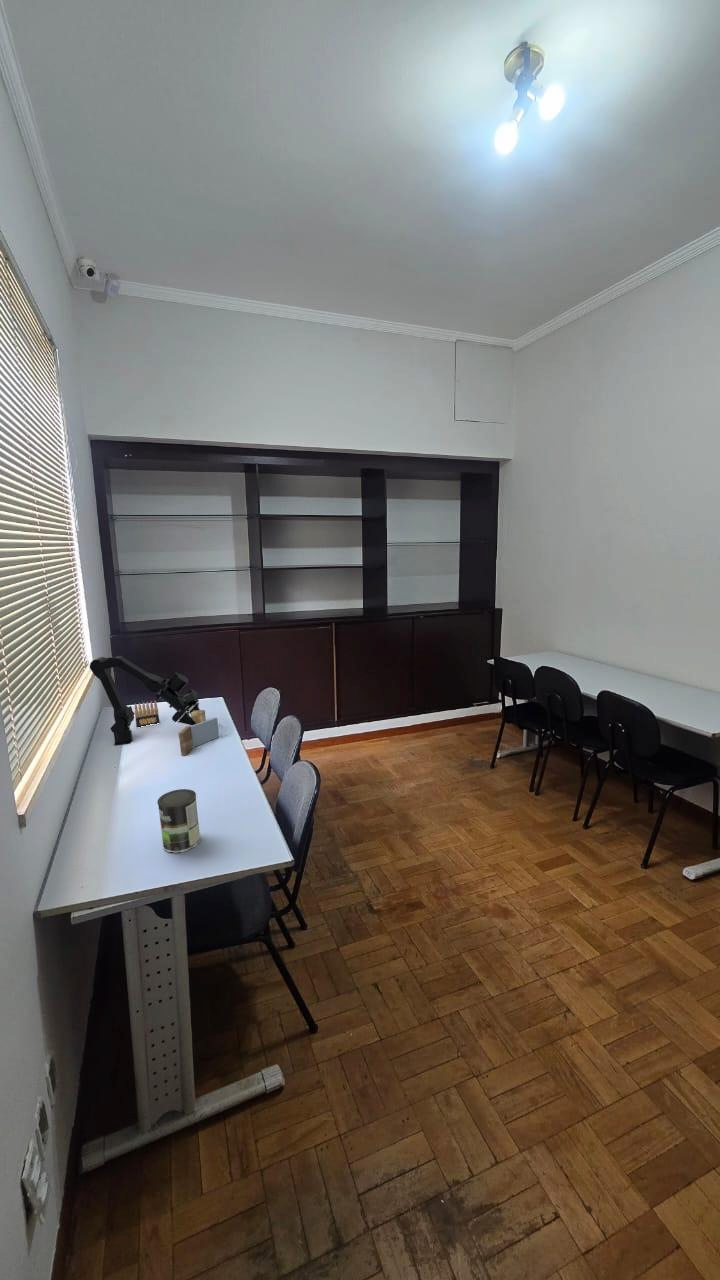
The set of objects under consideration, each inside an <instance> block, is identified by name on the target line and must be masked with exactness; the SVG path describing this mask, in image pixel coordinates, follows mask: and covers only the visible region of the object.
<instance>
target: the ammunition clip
mask: <svg viewBox="0 0 720 1280" xmlns="http://www.w3.org/2000/svg"><path fill="white" fill-rule="evenodd" d="M134 713H135V714H134V719H135V726H136V727H140V728H142V727H141V726H146V725H150V724H157V723H160V716H159V709H158V703H157V700H154V703H153V701H152V700H151V701H149V702H148V701H146V704H145V702H142V704H141V703H140V702H139V703H138V705H137V703H134ZM160 724H161V723H160ZM146 727H147V726H146Z"/></svg>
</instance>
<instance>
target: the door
mask: <svg viewBox="0 0 720 1280" xmlns="http://www.w3.org/2000/svg"><path fill="white" fill-rule="evenodd" d="M190 726H191V732H192V741H193V748H194V747H197V746H200V745H203V744H205V743H208V742H211V741H213V740H216V739H218V738H220V735H219V733H220V732H219V724H218V717H213V718H210V719H206V721H204V722H201V723H198V724H195V725H190Z"/></svg>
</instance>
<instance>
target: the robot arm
mask: <svg viewBox="0 0 720 1280" xmlns="http://www.w3.org/2000/svg"><path fill="white" fill-rule="evenodd" d="M112 668H119V669H120V670H122V671H123V672H125V673H126V674H128V675H130V676H132V677H133V678H134V679H136V680H138V681H139V682H140V683H142V685H143V686H144V688H146V690H147V691H149V692H150V693H152V694H154V693H155V695H156V697H155V699H156V700H155V701H158V700H160V699H162V700H163V701H165V702H166V703H167V704H169V706H168V707H169V708H170V709H171V708H173V709H174V710H175V711H176V712H174V714H173V715H172V716H171V720H172V722H174V723H177V724H179V723H180V724H184V725H187V726H192V725H195V724H197V723H196V722H195V721H194V720H193V719H192V718H191V712H193V711H194V710H201V709H200V707H199V705H200V702H199V701H200V700H199V699H198V698H199V697H198V692H197V691H196V690H194V689H192V688H191V689H190V690H188V692H187V694H186V695H183V694H178V693H177V692H181V691H182V690H183V689H184V687H186V685H187V684H188V683H189V679H188V677H186V676H185V675H183V674H181V673H178V671H177V672H176V671H175V673H174V674H173V675H172V677H171V678H163V677H161V676H159V675H156V674H153V673H149V672H148V671H145V670H144V669H142V668H141V667H140V666H139V665H138V666H137V665H136V664H135V663H133V662H131V661H130V660H128V659H126V658H125V657H124V656H122V655H118V656H111V657H105V656H100V657H97V658H95V659H94V660H91V662H90V663H89V669H90V671H91V672H92V674H93V675H94V676H95V677H96V678H97V679H98V680H99V681H100V682H101V685H102V687H103V689H104V691H105V693H106V696H107V699H108V700H109V702H110V704H111V707H112V708H113V720H114V723H113V724H112V726H111V727H110V731H111V732H112V733H113V738H114V744H113V745H114V746H118V745H127V744H128V745H129V744H131V742H132V740H133V731H132V729H131V727H130V726H132V725H131V724H132V723H133V721H134V719H135V711H134V710H133V707H132V706H131V705H130V706H128V705H126V704H125V702H124V700H123V699H122V698H123V697H122V696H121V694H120V691H119V689H118V687H117V685H116V683H115V680H114V679H113V676H112Z"/></svg>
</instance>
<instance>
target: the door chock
mask: <svg viewBox="0 0 720 1280" xmlns="http://www.w3.org/2000/svg"><path fill="white" fill-rule="evenodd" d="M190 717H191V718H192V719H193V720H194V721H195V722H196V723H197V724H198V723H201V722H204V721H207V718H206V717H207V716H206V710H205V709H204V710H203V709H200V710H194V711H193V712H191V714H190Z"/></svg>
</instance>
